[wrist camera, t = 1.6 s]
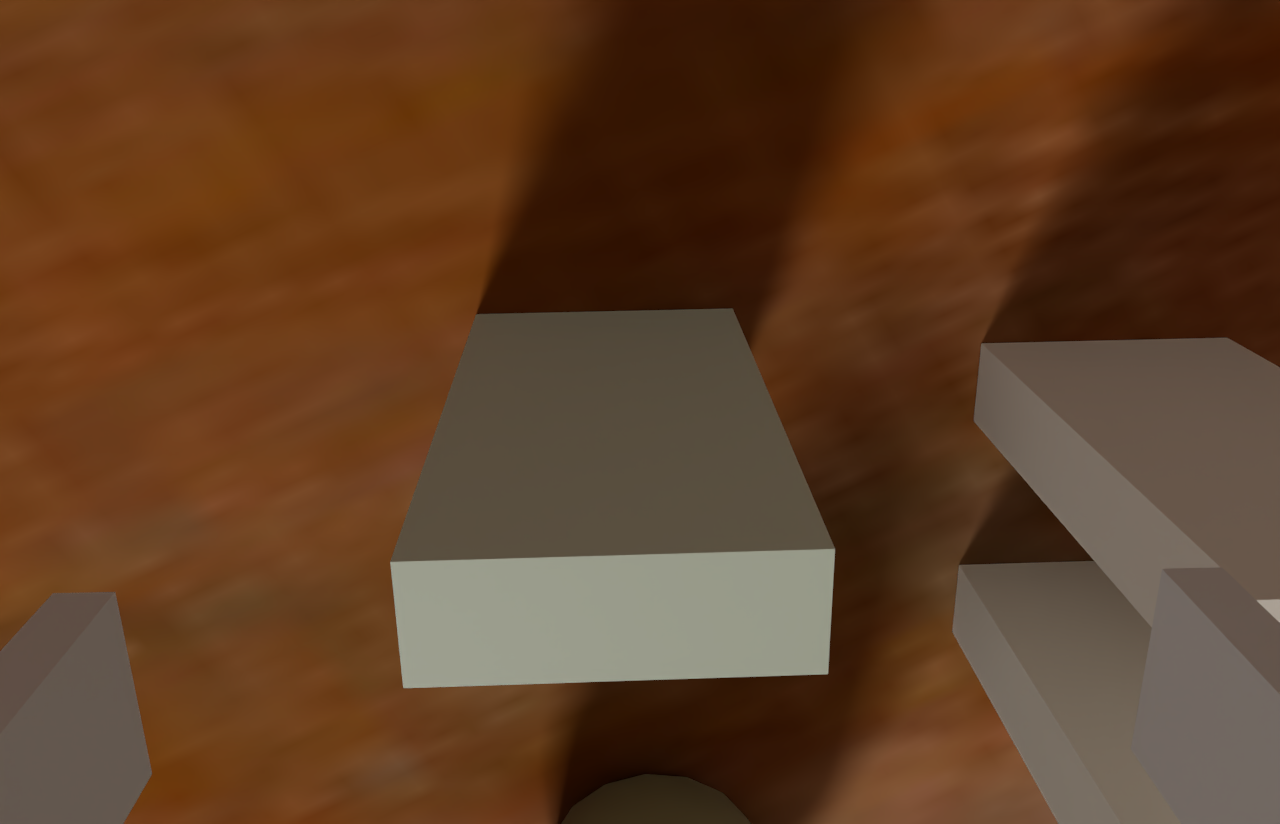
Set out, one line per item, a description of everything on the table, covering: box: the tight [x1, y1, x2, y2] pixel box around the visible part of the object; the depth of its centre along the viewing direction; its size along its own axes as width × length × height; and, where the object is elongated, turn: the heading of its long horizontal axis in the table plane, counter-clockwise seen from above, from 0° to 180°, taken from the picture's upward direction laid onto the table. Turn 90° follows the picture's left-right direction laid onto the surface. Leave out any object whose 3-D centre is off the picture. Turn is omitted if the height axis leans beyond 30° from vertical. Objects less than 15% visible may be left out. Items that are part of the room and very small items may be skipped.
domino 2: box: [974, 338, 1280, 627], centre depth 22 cm, size 2×6×12 cm, turn 91°
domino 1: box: [390, 308, 835, 688], centre depth 21 cm, size 2×6×12 cm, turn 91°
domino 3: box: [952, 561, 1181, 824], centre depth 24 cm, size 2×6×12 cm, turn 91°
